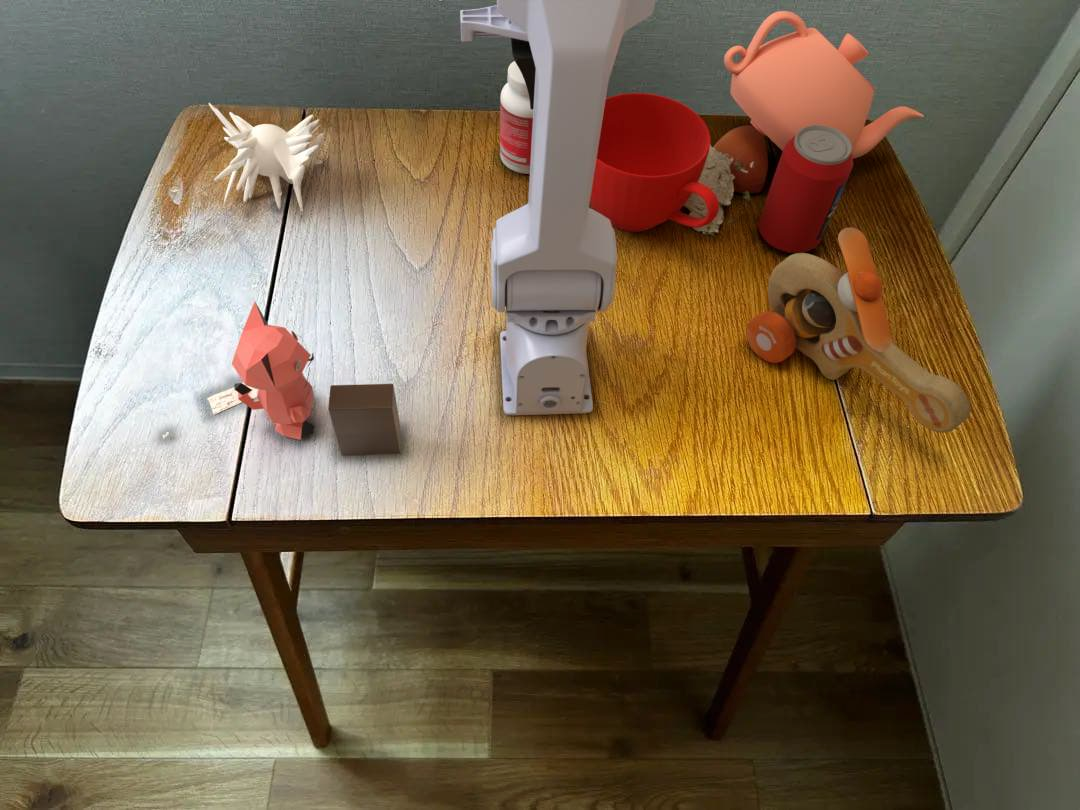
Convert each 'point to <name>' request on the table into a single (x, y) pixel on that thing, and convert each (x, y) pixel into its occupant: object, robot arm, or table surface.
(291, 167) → the spiky ball
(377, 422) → the walnut block
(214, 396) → the card
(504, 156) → the pill bottle
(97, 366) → the table surface
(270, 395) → the cat figurine
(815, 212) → the beverage can
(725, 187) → the stone fragment
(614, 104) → the ceramic cup
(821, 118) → the teapot
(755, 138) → the brown egg
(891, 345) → the toy helicopter
